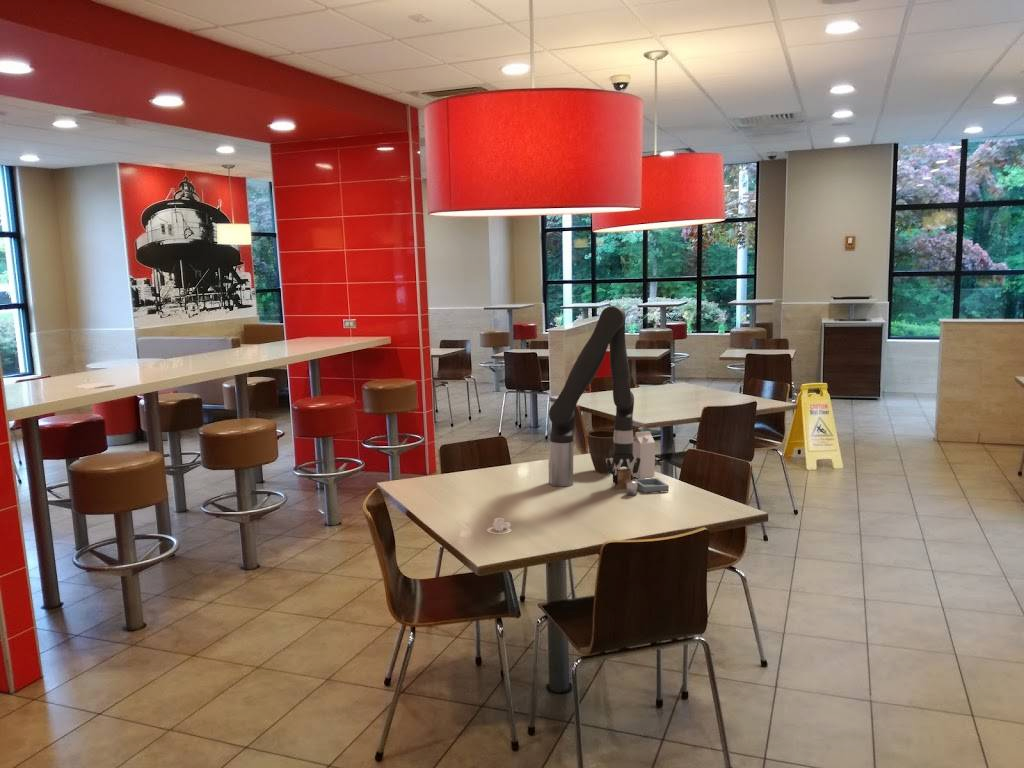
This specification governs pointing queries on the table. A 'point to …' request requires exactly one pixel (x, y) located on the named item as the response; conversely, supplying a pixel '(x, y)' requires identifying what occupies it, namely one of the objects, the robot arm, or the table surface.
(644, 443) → the milk carton
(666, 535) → the table surface
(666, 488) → the slate tray
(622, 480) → the walnut block
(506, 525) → the teacup and saucer
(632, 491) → the metal cylinder
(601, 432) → the plant pot
